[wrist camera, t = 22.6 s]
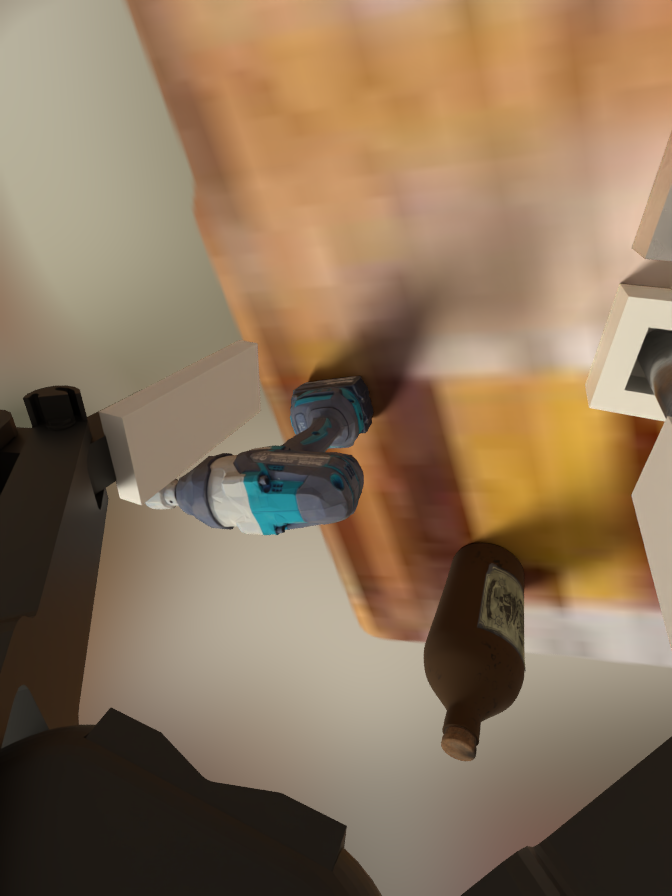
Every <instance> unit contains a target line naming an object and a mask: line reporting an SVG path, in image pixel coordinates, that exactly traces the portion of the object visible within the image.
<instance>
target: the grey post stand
mask: <svg viewBox="0 0 672 896" xmlns="http://www.w3.org/2000/svg"><path fill="white" fill-rule="evenodd" d="M632 249H633V250H634V251H636V252H637V253H638V254H639V255H641V256H642V257H643V258H644V259H652V260H663V261H672V132H671V135H670V138H669V141H668V144H667V147H666V149H665V152H664V155H663V158H662V161H661V164H660V167H659V170H658V173H657V176H656V179H655V182H654V185H653V188H652V190H651V193H650V196H649V199H648V202H647V205H646V208H645V211H644V214H643V217H642V220H641V223H640V226H639V229H638V231H637V234H636V237H635V240H634V243H633V246H632Z"/></svg>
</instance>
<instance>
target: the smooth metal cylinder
mask: <svg viewBox="0 0 672 896" xmlns="http://www.w3.org/2000/svg"><path fill="white" fill-rule="evenodd" d="M637 359H638V361H639V363H640V366H641V368H642V370H643V372H644V374H645V376H646V378H647V380H648V382H649V384H650V387H651V389H652V391H653V393H654V395H655V397H656V399H657V401H658V403H659V405H660V408H661V410H662V412H663V414H664V416H665V418H667V416H670V417H672V330H665V329H656V330H653V331H651V332H649V333H648V334H646V336H645V338H644V341H643V343H642V346H641V349H640V351H639V354H638V356H637Z"/></svg>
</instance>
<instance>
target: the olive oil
mask: <svg viewBox="0 0 672 896" xmlns="http://www.w3.org/2000/svg"><path fill="white" fill-rule="evenodd" d="M424 667H425V673H426V677H427V679H428V682H429V684H430V685H431V687H432V689H433V691H434V692H435V693H436V695H437V697H438V698H439V699H440V701H441V702H442V704H443V705H444V706H445V708H446V710H447V713H446V717H445V721H444V726H443V734H444V735H443V737H442V742H441V746H442V748H443V750H444V751H445V752H446V753H447V754H448V755H450V756H451V757H453V758H455V759H458V760H461V761H471V760H473V759H474V758H475V756H476V746H477V745H478V744H479V735H480V724H481V722H482V721H483V720H485V719H488V718H490V717H492V716H494V715H497V714H499V713H501V712H503V711H504V710H506V709H507V708H508V707H509V706H511V705H512V703H513V702H514V701H515V699H516V698H517V696H518V694H519V691H520V689H521V687H522V684H523V680H524V669H525V660H524V570H523V567H522V565H521V563H520V562H519V560H518V559H517V558H516V557H515V556H514V555H513V554H512V553H510V552H509V551H507V550H506V549H504V548H502V547H499V546H496V545H493V544H487V543H475V544H470V545H467V546H465V547H463V548H462V549H460V550H459V551H458V552H457V553H456V555H455V556H454V558H453V561H452V564H451V568H450V571H449V574H448V578H447V581H446V584H445V587H444V590H443V593H442V596H441V599H440V602H439V605H438V608H437V611H436V614H435V617H434V620H433V623H432V626H431V629H430V631H429V634H428V637H427V640H426V643H425V648H424Z"/></svg>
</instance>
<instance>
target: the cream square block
mask: <svg viewBox="0 0 672 896" xmlns="http://www.w3.org/2000/svg"><path fill="white" fill-rule="evenodd" d="M656 329H665V330H672V289H666V288H657V287H647V286H638V285H628V284H619V287H618V290H617V293H616V296H615V299H614V302H613V305H612V308H611V310H610V313H609V316H608V319H607V322H606V325H605V328H604V331H603V334H602V337H601V340H600V343H599V346H598V349H597V351H596V354H595V357H594V360H593V363H592V366H591V369H590V372H589V375H588V378H587V381H586V384H585V387H586V393H587V399H588V404H589V408H593V409H599V410H605V411H610V412H616V413H621V414H627V415H632V416H638V417H643V418H649V419H654V420H660V421H666V418H665V416H664V414H663V412H662V410H661V408H660V405H659V403H658V401H657V399H656V397H655V395H654V393H653V391H652V389H651V387H650V384H649V382H648V380H647V378H646V376H645V374H644V372H643V370H642V368H641V366H640V363H639V361H638V359H637V356H638V354H639V351H640V349H641V346H642V343H643V341H644V338H645V336H646V334H648V333H649V332H651V331H653V330H656Z"/></svg>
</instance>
